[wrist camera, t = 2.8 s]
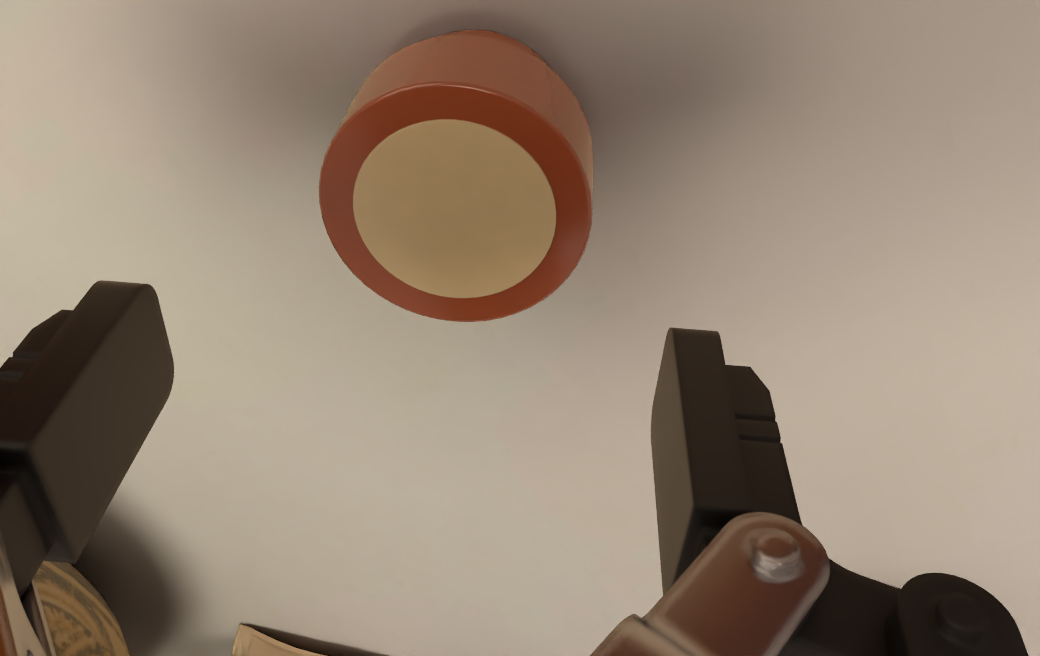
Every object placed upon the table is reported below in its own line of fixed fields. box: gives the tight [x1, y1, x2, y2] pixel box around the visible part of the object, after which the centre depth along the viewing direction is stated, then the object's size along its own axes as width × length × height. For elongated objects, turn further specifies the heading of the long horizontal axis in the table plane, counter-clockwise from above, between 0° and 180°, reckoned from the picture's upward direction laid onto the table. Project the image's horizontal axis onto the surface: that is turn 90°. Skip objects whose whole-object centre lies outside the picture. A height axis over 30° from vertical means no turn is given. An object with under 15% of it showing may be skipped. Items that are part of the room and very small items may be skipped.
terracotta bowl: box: [319, 30, 593, 322], centre depth 19 cm, size 5×5×4 cm
